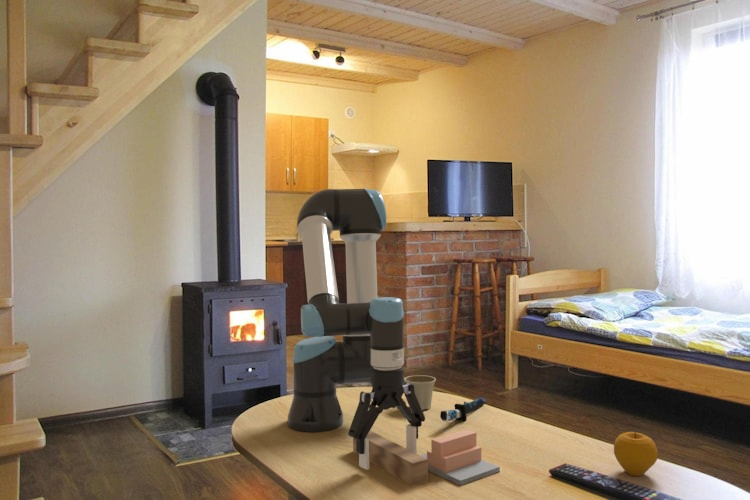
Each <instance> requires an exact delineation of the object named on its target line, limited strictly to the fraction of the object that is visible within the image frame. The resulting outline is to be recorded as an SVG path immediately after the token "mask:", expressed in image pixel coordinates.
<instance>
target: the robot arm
mask: <svg viewBox="0 0 750 500" xmlns="http://www.w3.org/2000/svg"><path fill="white" fill-rule="evenodd" d="M385 205H386V204H385V200H384V197H383V196H382V193H380V191H378V190H376V189H371V188H370V189H367V188H347V189H346V188H342V189H341V188H336V189H335V188H327V189H322V190H320V191H316V192H315V193H314V194H312V195H311V196H310V197H308V198H307V200H306V201H305V202H304V203H303V204H302V206H301V209H300V210H299V212H298V216H297V218H296V229H297V230H296V231H297V234H298V236H299V237H300V238H301V243H302V252H303V264H304V274H305V283H306V284H305V285H306V298H307V304H303V305H302V306H301V307H300V325H301V326H300V328H301V333H302V335H303V336H306V337H309V338H305V339H302V340H299V341H298V342H297V343H296V344H295V345H294V346H293V350H292V351H293V352H292V353H293V354H292V355H293V356H292V363H293V397H292V399H291V400H292V401H291V404H290V408H289V411H288V414H287V426H288V427H289V428H291V429H292V430H295V431H301V432H311V433H313V432H315V433H316V432H324V431H330V430H333V429H336V428H337V429H338V428H339V427H341V426H342V425H343V424H344V414H343V411H342V408H341V405H340V402H339V401H340V400H339V399H338V395H337V385H349V384H350V385H352V384H367V383H368V384H371V387H372V390H371V391H370V392H366V391H360V392H359V402H358V405H357V407H356V409H355V410H356V411H355V413H354V416H353V419H352V421H351V424H350V427H349V430H348V432H347V435H348V436H349V437H351V438H352V439H353V438H355V439H356V451H357V453H359V454H358V463H359V464H358V467H360V468H362V469H364V470H369V469H370V461H369V439H367V438H366V436H367V435H368V433H369V431H371V429H372V427H373V426H374V424H375V422H376V421H377V419H378V417H379V415H380V414H382V413H383V411H386V410H390V409H395V408H397V409H398V411H399V412H400V413H401V415H402V416H403V417H404V419H405V420H407V422H408V423H409V424H406V425H405V429H406V432H405V434H406V436H405V437H406V438H405V440H406V441H405V442H406V444H405V446H406V447H405V448H406V449H408V450H410V451H412V452H414V453H416V454H418V453H417V440H418V439H419V428H421V427H422V422H425V421H426V417H425V415H424V412H423V410H422V409H421V407H420V405H419V402H418V400H417V398H416V395H415V391H414V385H412V384H408V383H406V382H405V381H404V378H405V368H404V367H403V365H404V364H405V356H404V355H405V352H404V348H405V346H404V341H405V339H404V336H405V335H404V316H405V311H404V302H403V300H402V299H401V298H399V297H394V296H390V297H389V296H386V297H385V296H383V297H382V296H381V297H379V296H378V275H377V274H378V272H377V271H378V270H377V245H376V244H377V243H376V242H377V241H378V240H379V239H380V237H381V236H382V234H381V233H382V232H381V231H385V230H386V228H387V210H386V209H387V208H386V206H385ZM335 231H339V238H340V240H342V241H343V242H344V244H345V274H346V275H345V277H346V303H340V299H339V291H338V285H337V278H336V277H337V276H336V268H335V261H334V254H333V245H332V239H331V235H332V233H333V232H335ZM335 336H342V340H341V341H337V339H336V337H335ZM403 395H404V396H405V399H406V401H407V403H406V401H405V400H404V399H403V398H402V397H403ZM407 404H408V405H407ZM357 453H356V454H357Z"/></svg>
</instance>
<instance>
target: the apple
mask: <svg viewBox="0 0 750 500" xmlns="http://www.w3.org/2000/svg"><path fill="white" fill-rule="evenodd" d="M613 454H614V457H615V458H616V461H617V462H618V464H619V465H620V466H621V468H622V469H623V470H624V472H625V473H627V474H628V475H630V476H633V477H639V476H642V475H645V474H646V472H647V471H649V470H650V469H651V468H652V467H653V466H654V465H655V464H656V462H657V461H658V456H659V452H658V448H657V446H656V443H655V442H654V441H653V438H652V437H649V436H648V435H645V434H644V433H641V432H637V431H627V432H626V431H625V432H623V433H620V434H619V435H618V436H617V437H615V441H614V443H613Z"/></svg>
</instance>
